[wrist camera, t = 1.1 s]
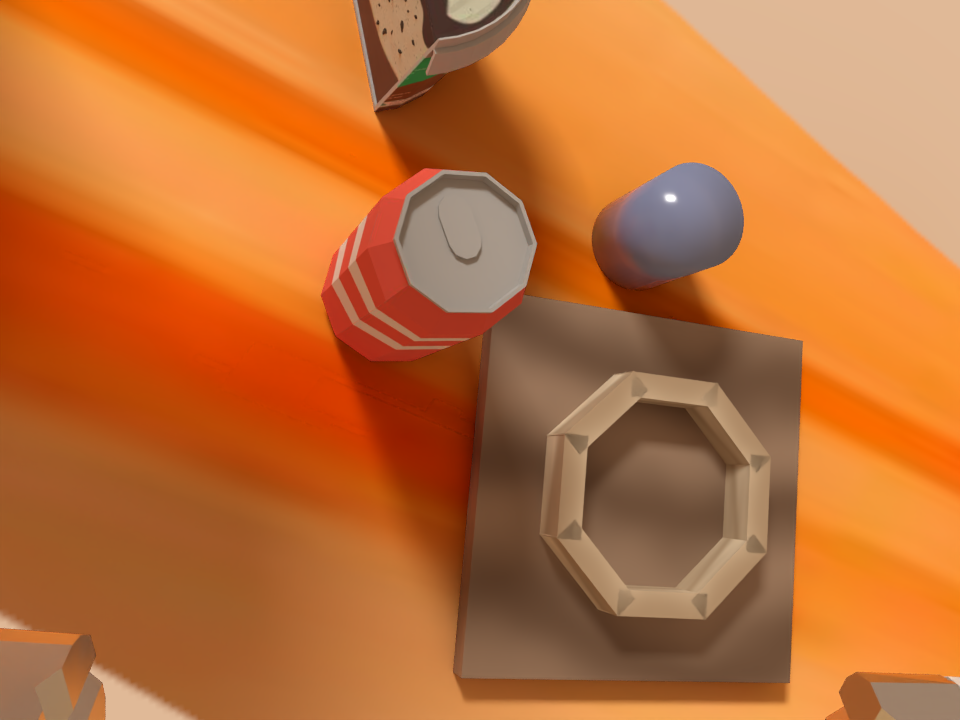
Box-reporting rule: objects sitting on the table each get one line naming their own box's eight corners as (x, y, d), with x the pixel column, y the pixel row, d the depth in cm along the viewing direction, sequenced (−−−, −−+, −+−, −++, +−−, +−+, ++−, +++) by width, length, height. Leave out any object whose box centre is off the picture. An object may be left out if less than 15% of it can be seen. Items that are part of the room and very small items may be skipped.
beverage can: (421, 218, 43) (513, 134, 32) (465, 342, 43) (571, 302, 32) (302, 252, 41) (355, 175, 30) (348, 383, 41) (418, 355, 30)
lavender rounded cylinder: (595, 189, 47) (654, 152, 41) (677, 207, 48) (746, 174, 43) (588, 282, 46) (648, 258, 40) (672, 297, 48) (741, 275, 42)
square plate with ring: (486, 294, 44) (510, 282, 41) (788, 343, 50) (828, 336, 47) (453, 672, 41) (476, 688, 38) (774, 677, 47) (816, 692, 44)
